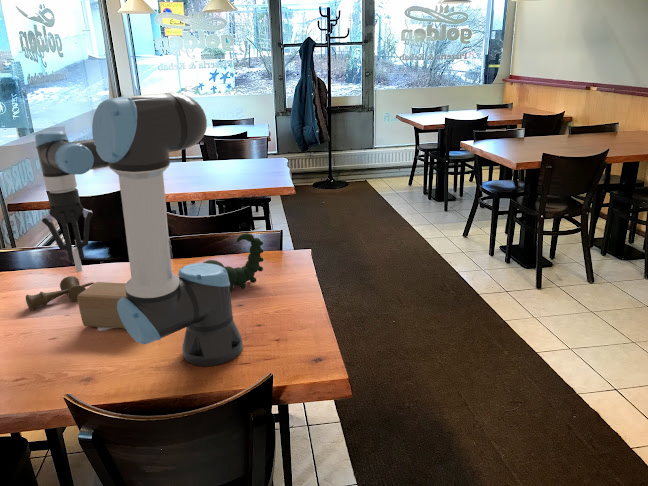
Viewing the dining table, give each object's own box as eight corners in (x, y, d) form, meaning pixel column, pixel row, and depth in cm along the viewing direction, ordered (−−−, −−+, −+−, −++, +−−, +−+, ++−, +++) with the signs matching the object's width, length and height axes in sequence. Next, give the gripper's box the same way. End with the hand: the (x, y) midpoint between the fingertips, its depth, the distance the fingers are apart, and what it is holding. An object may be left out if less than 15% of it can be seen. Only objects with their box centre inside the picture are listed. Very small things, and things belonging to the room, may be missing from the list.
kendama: (25, 306, 163) (91, 286, 174) (33, 317, 156) (100, 295, 167) (21, 289, 160) (87, 270, 172) (28, 300, 153) (96, 279, 165)
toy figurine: (255, 280, 178) (183, 292, 165) (255, 227, 172) (181, 236, 160) (267, 290, 170) (192, 303, 158) (267, 235, 165) (190, 244, 152)
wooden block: (95, 280, 152) (158, 283, 148) (101, 310, 155) (163, 314, 152) (74, 295, 142) (141, 298, 139) (81, 327, 146) (147, 331, 142)
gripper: (88, 183, 145) (103, 261, 153) (36, 189, 140) (54, 269, 148) (88, 189, 138) (104, 270, 146) (34, 196, 133) (53, 279, 141)
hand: (79, 270), depth 147 cm, fingers closed
